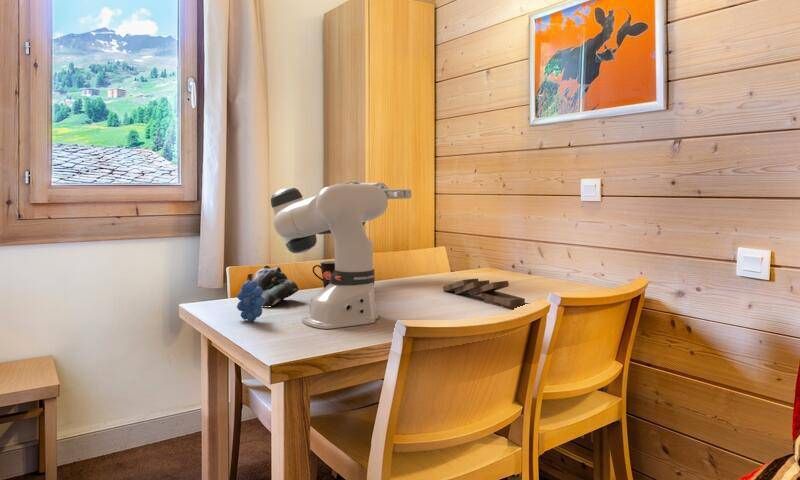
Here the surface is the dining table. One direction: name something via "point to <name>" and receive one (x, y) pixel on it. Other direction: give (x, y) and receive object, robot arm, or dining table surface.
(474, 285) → the domino
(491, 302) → the domino
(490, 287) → the domino
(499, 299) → the domino
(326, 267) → the coffee mug
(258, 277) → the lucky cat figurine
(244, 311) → the grapes
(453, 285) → the domino
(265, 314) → the dining table surface
